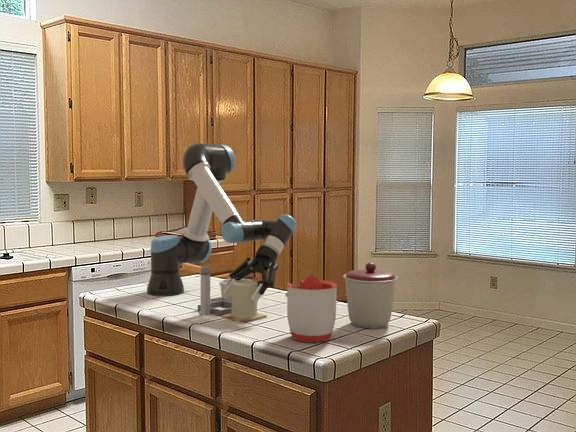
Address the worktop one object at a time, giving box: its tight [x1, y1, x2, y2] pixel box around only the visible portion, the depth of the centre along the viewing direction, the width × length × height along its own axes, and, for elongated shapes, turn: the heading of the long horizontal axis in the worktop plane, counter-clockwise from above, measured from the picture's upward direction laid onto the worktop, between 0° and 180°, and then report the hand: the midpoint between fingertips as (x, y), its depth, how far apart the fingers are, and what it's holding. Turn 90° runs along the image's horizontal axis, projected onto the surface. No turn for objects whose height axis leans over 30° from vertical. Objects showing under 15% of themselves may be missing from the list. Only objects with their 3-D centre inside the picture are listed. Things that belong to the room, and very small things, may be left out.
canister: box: [342, 262, 399, 329], centre depth 206 cm, size 18×18×21 cm
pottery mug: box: [242, 276, 263, 288], centre depth 256 cm, size 12×10×8 cm
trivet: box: [221, 312, 267, 324], centre depth 215 cm, size 11×11×1 cm
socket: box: [197, 274, 232, 317], centre depth 223 cm, size 12×15×14 cm
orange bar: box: [181, 263, 211, 275], centre depth 223 cm, size 3×16×2 cm, turn 39°
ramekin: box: [219, 278, 252, 302], centre depth 247 cm, size 13×13×7 cm
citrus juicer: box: [285, 273, 338, 344], centre depth 190 cm, size 16×17×20 cm
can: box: [231, 280, 258, 318], centre depth 214 cm, size 9×9×12 cm
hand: (239, 298), depth 212 cm, fingers open, 13 cm apart
